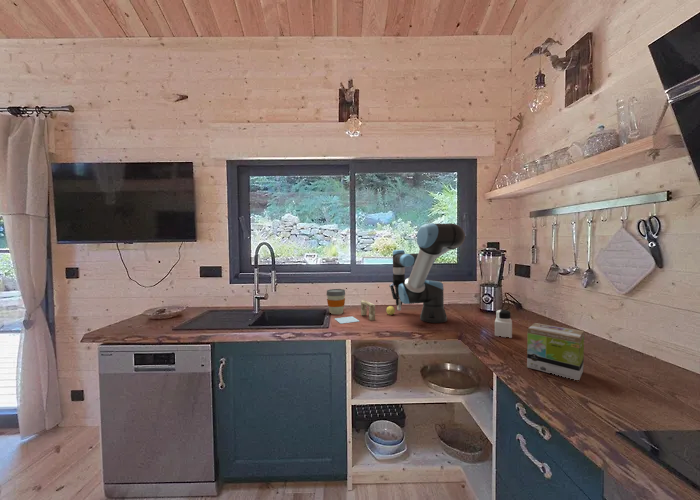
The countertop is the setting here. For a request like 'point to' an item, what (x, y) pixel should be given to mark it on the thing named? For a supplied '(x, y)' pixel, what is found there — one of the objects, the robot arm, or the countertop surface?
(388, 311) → the ball
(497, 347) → the countertop surface
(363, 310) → the bridge
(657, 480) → the countertop surface
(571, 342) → the tea box
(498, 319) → the medicine bottle
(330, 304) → the reusable coffee cup
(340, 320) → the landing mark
